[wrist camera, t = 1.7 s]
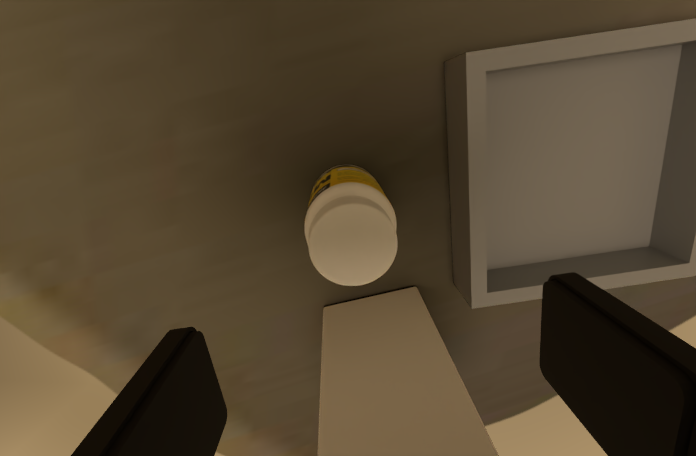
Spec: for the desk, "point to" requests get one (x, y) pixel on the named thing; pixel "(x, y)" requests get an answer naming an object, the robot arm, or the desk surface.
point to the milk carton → (392, 384)
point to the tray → (573, 162)
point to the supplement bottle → (350, 227)
